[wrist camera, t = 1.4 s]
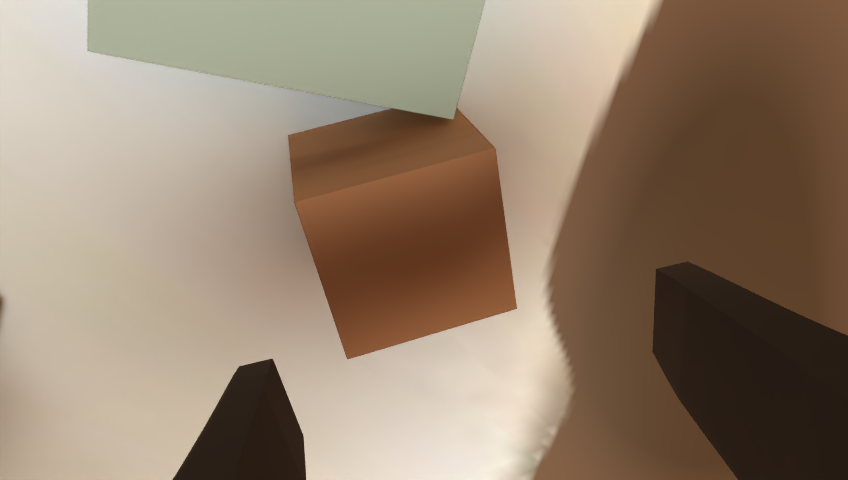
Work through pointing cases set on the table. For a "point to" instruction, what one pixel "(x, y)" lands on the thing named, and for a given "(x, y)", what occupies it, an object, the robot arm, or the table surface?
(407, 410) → the table surface
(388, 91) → the sage green box
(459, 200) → the walnut cube
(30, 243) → the table surface
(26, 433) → the table surface
